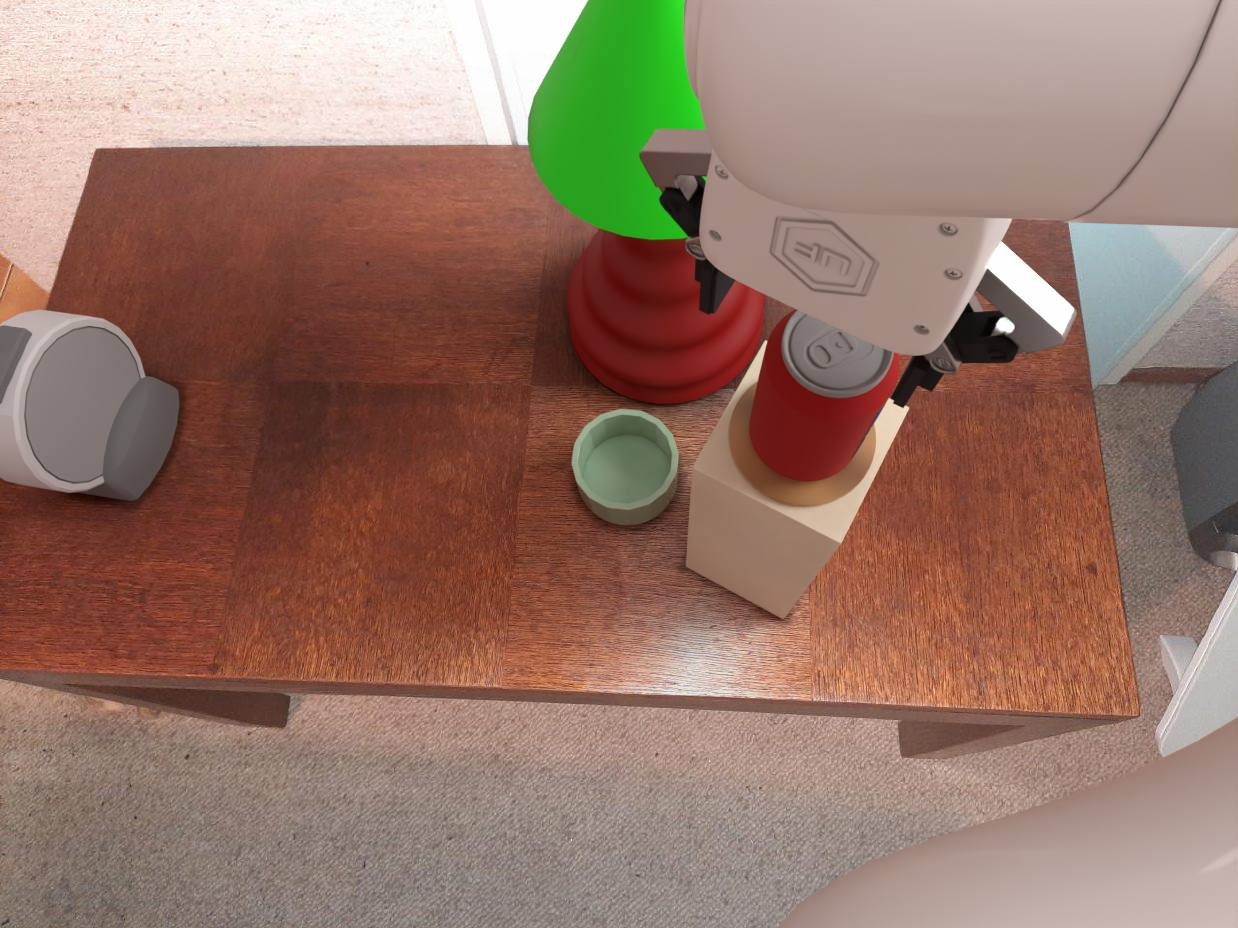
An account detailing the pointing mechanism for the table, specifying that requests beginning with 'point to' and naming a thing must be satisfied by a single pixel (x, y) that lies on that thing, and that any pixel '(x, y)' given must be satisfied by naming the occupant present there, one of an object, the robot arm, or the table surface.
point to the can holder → (626, 466)
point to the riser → (767, 519)
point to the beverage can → (817, 397)
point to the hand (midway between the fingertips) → (812, 333)
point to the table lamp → (633, 208)
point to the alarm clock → (80, 407)
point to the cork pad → (782, 486)
